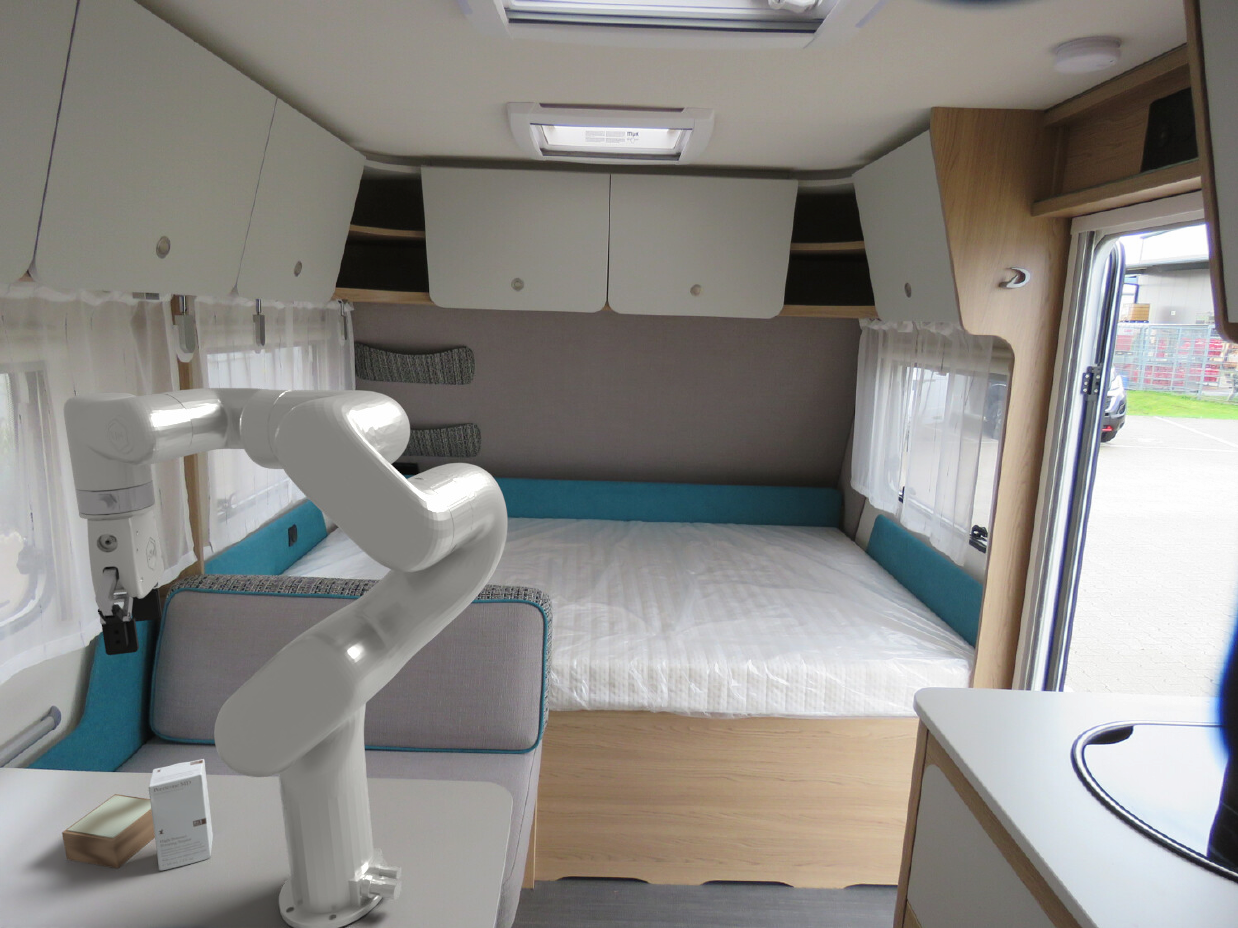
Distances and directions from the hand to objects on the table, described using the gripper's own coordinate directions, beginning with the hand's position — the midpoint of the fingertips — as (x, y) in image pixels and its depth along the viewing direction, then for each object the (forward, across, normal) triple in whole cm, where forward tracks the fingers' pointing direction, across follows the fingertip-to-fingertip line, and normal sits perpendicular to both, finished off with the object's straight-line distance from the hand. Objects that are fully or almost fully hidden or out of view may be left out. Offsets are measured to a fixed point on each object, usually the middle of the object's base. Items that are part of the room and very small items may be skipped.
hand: (136, 635), depth 91 cm
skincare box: (+32, 0, -2) cm, 32 cm away
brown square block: (+32, +6, +7) cm, 33 cm away
